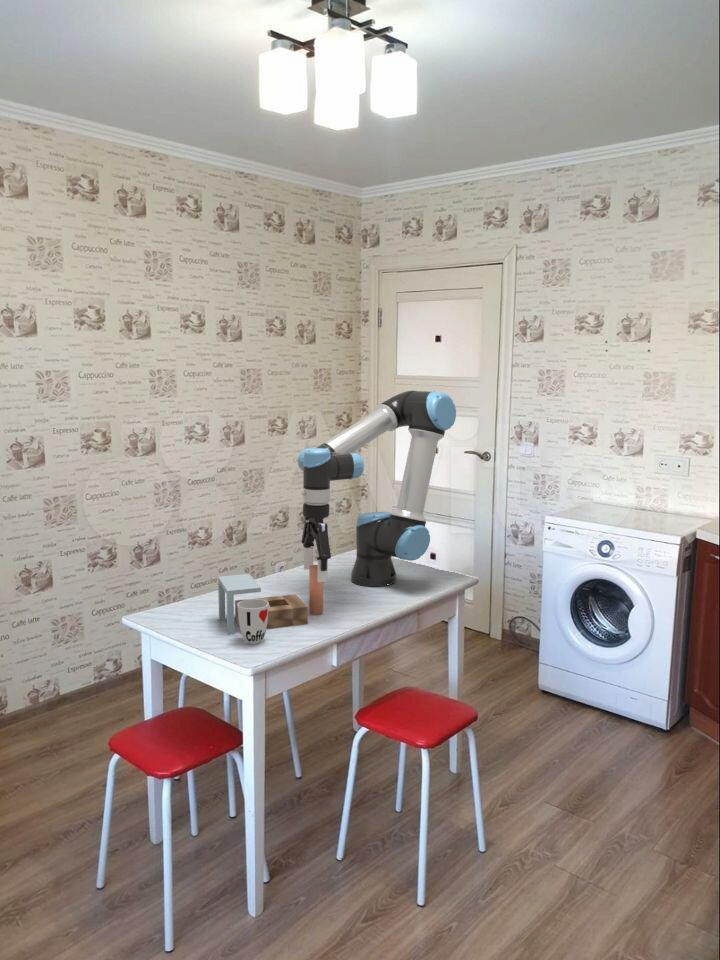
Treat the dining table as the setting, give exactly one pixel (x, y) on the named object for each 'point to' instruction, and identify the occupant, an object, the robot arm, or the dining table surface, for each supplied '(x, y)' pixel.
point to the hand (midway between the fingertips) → (315, 575)
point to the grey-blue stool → (233, 587)
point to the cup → (253, 619)
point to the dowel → (315, 592)
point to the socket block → (283, 611)
